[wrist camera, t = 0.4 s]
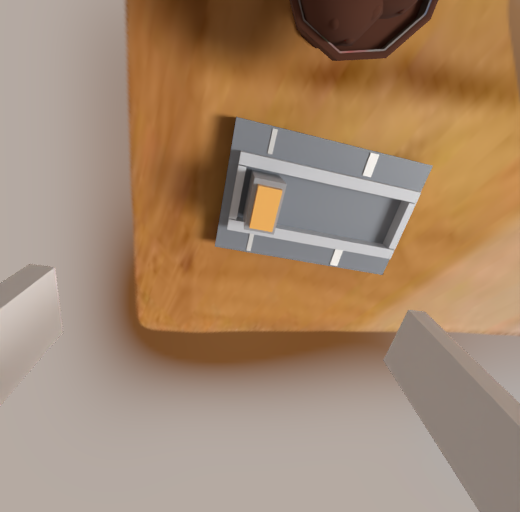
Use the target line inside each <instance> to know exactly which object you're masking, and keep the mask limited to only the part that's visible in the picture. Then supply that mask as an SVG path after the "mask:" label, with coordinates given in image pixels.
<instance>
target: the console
mask: <svg viewBox="0 0 520 512" xmlns="http://www.w3.org/2000/svg"><path fill="white" fill-rule="evenodd" d="M252 169H253V170H257V171H262V172H266V173H271V174H275V175H279V176H280V177H281V178H282V179H283V180H284V181H285V183H286V184H287V186H286V190H285V194H284V198H283V202H282V205H281V209H280V213H279V217H278V221H277V225H276V229H275V233H274V235H272V234H267V233H261V232H256V231H250V230H245V229H244V222H243V212H244V207H245V202H246V197H247V192H248V187H249V182H250V177H251V172H252ZM431 169H432V166H431V165H427V164H423V163H419V162H415V161H411V160H407V159H403V158H399V157H395V156H391V155H387V154H383V153H379V152H375V151H371V150H367V149H363V148H359V147H355V146H351V145H347V144H343V143H339V142H335V141H331V140H327V139H323V138H319V137H315V136H311V135H307V134H303V133H299V132H295V131H291V130H287V129H283V128H279V127H275V126H271V125H267V124H263V123H259V122H255V121H251V120H247V119H243V118H239V117H236V122H235V128H234V134H233V140H232V146H231V152H230V158H229V164H228V170H227V177H226V183H225V189H224V195H223V201H222V207H221V213H220V219H219V225H218V231H217V237H216V243H215V247H221V248H227V249H233V250H239V251H245V252H251V253H257V254H263V255H268V256H274V257H280V258H286V259H292V260H298V261H304V262H310V263H316V264H322V265H327V266H333V267H339V268H345V269H351V270H357V271H363V272H369V273H375V274H380V275H382V274H383V272H384V270H385V268H386V266H387V264H388V261H389V259H391V257H392V254H393V252H394V249H395V248H396V246H397V244H398V241H399V239H400V237H401V235H402V233H403V231H404V229H405V226H406V224H407V222H408V220H409V218H410V216H411V213H412V211H413V209H414V207H415V205H416V204H415V203H417V201H418V198H419V196H420V194H421V193H420V192H421V190H422V188H423V186H424V184H425V182H426V179H427V177H428V175H429V173H430V171H431Z"/></svg>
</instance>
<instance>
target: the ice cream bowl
mask: <svg viewBox="0 0 520 512" xmlns="http://www.w3.org/2000/svg"><path fill="white" fill-rule="evenodd" d="M437 2H438V0H290V4H291V8H292V12H293V16H294V20H295V24H296V27H297V30H298V31H299V32H300V33H301V36H302V37H303V38H305V39H306V40H307V41H308V42H309V43H310V44H312V45H313V46H314V47H315V48H319V49H320V50H321V51H322V52H323V53H324V54H326V55H327V56H328V57H329V58H330V59H331V60H332V61H341V60H359V59H377V58H386V57H388V56H389V55H390V54H391V53H392V52H393V51H394V50H396V49H397V48H398V47H399V46H400V45H401V44H403V43H404V42H405V41H406V40H407V39H408V38H409V37H411V36H412V35H413V34H414V33H415V32H416V31H417V30H419V29H420V28H421V27H422V26H423V25H424V24H426V23H427V22H428V21H429V20H430V19H431V17H432V14H433V12H434V9H435V7H436V4H437Z"/></svg>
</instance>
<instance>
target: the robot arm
mask: <svg viewBox="0 0 520 512" xmlns="http://www.w3.org/2000/svg"><path fill="white" fill-rule="evenodd" d="M62 333H63V326H62V318H61V310H60V303H59V295H58V287H57V279H56V272H55V267H50V266H41V265H32V264H29V265H27V266H26V267H24V268H23V269H21V270H20V271H18V272H17V273H15V274H14V275H12V276H11V277H9V278H7V279H6V280H4V281H3V282H1V283H0V406H1V405H2V404H3V402H4V401H5V400H6V399H7V398H8V396H9V395H10V394H11V393H12V392H13V391H14V389H15V388H16V387H17V386H18V385H19V383H20V382H21V381H22V380H23V379H24V377H26V375H27V374H28V373H29V372H30V371H31V369H32V368H33V367H34V366H35V365H36V364H37V362H38V361H39V360H40V359H41V358H42V357H43V355H44V354H45V353H46V352H47V351H48V349H49V348H50V347H51V346H52V345H53V344H54V342H55V341H56V340H57V339H58V338H59V337H60V335H61V334H62ZM384 362H385V364H386V365H387V367H388V369H389V370H390V372H391V373H392V375H393V376H394V378H395V380H396V381H397V383H398V384H399V386H400V388H401V389H402V391H403V392H404V394H405V395H406V397H407V398H408V400H409V402H410V403H411V405H412V406H413V408H414V410H415V411H416V413H417V414H418V416H419V417H420V419H421V421H422V422H423V424H424V425H425V427H426V428H427V430H428V431H429V433H430V435H431V436H432V438H433V439H434V441H435V443H436V444H437V446H438V447H439V449H440V450H441V452H442V454H443V455H444V457H445V458H446V460H447V461H448V463H449V464H450V466H451V468H452V469H453V471H454V472H455V474H456V476H457V477H458V479H459V480H460V482H461V483H462V485H463V487H464V488H465V490H466V491H467V493H468V494H469V496H470V498H471V499H472V501H473V502H474V503H475V505H476V507H477V509H478V510H479V511H480V512H520V403H519V402H518V401H517V400H516V399H514V397H513V396H512V395H510V394H509V393H508V392H507V391H506V390H505V389H504V388H503V387H502V386H501V385H500V384H499V383H498V382H497V381H496V380H495V379H494V378H493V377H492V376H491V375H490V374H489V373H488V372H487V371H486V370H485V369H484V368H483V367H482V366H480V365H479V364H478V363H477V362H476V361H475V360H474V359H473V358H472V357H471V356H470V355H469V354H468V353H467V352H466V351H465V350H464V349H463V348H462V347H461V346H460V345H459V344H458V343H457V342H456V341H455V340H454V339H453V338H451V336H450V335H448V334H447V333H446V332H445V331H444V330H443V329H442V328H441V327H440V326H439V325H438V324H437V323H436V322H435V321H434V320H433V319H432V318H431V317H430V316H429V315H428V314H427V313H426V312H422V311H414V310H408V312H407V314H406V316H405V318H404V320H403V322H402V324H401V326H400V328H399V330H398V332H397V334H396V336H395V338H394V340H393V342H392V344H391V346H390V348H389V350H388V352H387V354H386V356H385V358H384Z"/></svg>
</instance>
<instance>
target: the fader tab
mask: <svg viewBox="0 0 520 512" xmlns="http://www.w3.org/2000/svg"><path fill="white" fill-rule="evenodd" d="M286 186H287V184H286V183H285V181H284V180H283V179H282V178H281V177H280V176H279V175H275V174H271V173H266V172H262V171H257V170H253V169H252V172H251V177H250V182H249V187H248V192H247V197H246V202H245V207H244V212H243V222H244V229H245V230H250V231H256V232H261V233H267V234H272V235H274V233H275V229H276V225H277V221H278V217H279V213H280V209H281V205H282V202H283V198H284V194H285V190H286Z"/></svg>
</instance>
